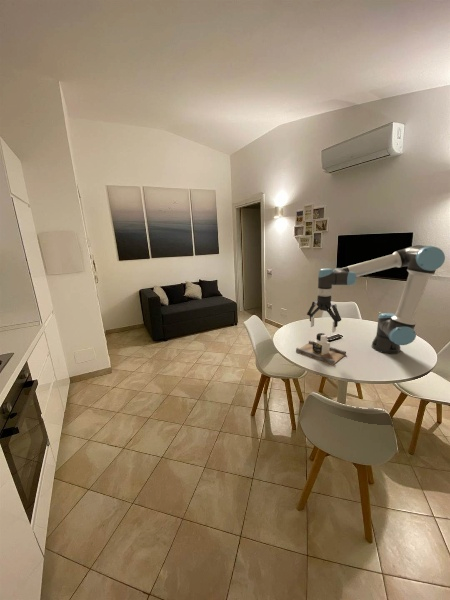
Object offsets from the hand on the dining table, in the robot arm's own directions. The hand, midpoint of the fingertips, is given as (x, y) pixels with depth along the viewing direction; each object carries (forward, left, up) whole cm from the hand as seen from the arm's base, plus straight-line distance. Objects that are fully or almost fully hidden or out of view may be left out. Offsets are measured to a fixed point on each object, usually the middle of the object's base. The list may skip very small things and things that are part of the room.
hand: (322, 329), depth 147 cm
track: (0, 0, -16) cm, 16 cm away
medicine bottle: (0, 0, -16) cm, 16 cm away
